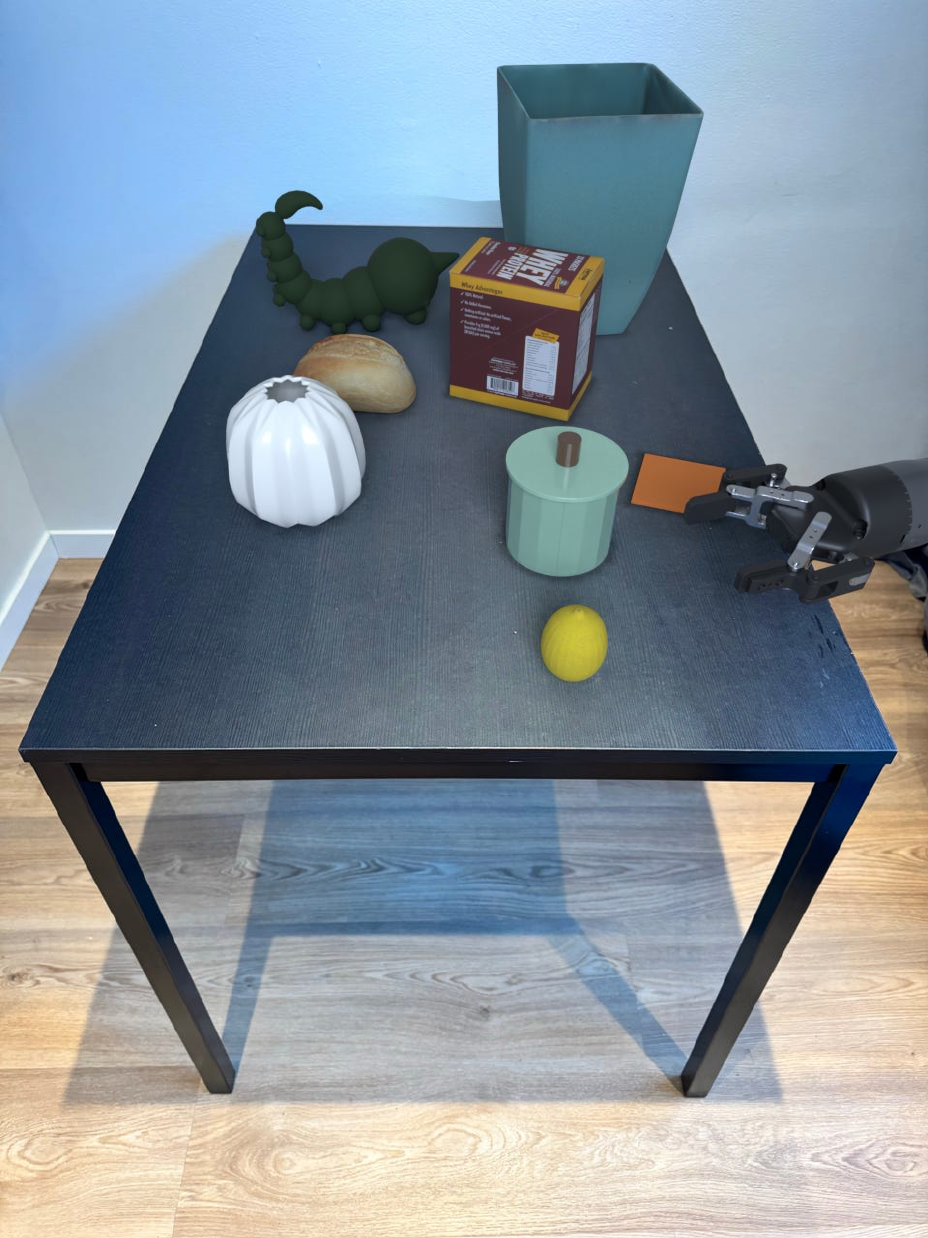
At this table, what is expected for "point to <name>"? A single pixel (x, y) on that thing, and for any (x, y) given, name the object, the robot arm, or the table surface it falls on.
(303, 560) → the table surface
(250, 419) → the vase
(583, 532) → the pot
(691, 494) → the orange square coaster
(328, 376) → the bread roll
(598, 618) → the lemon
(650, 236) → the flower pot
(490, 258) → the supplement box
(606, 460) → the pot lid
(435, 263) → the toy figurine
